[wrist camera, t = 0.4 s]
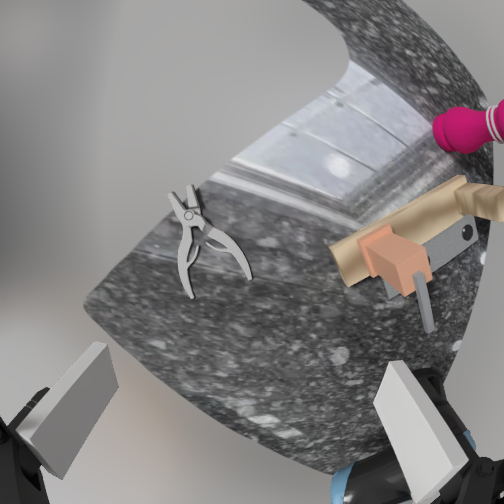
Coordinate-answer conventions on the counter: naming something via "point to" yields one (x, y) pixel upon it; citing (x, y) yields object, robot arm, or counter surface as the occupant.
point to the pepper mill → (469, 128)
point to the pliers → (195, 219)
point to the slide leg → (399, 266)
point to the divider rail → (423, 220)
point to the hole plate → (444, 247)
